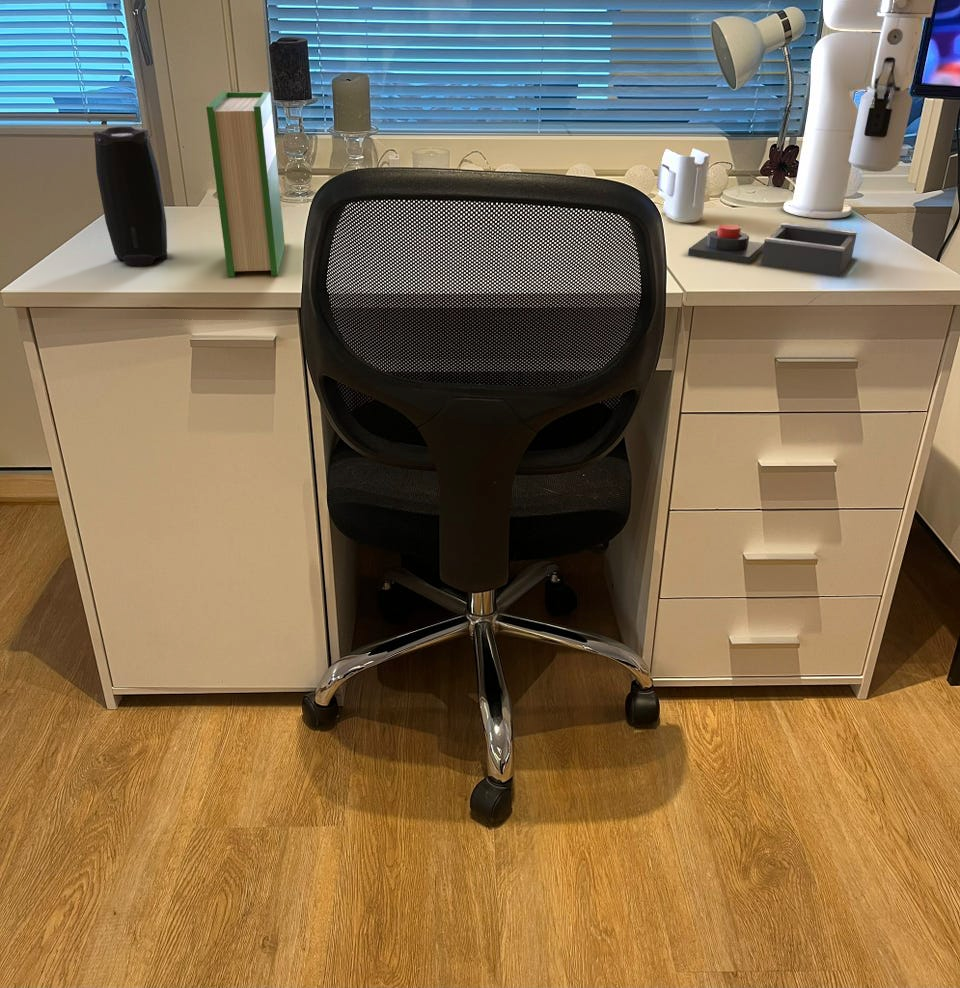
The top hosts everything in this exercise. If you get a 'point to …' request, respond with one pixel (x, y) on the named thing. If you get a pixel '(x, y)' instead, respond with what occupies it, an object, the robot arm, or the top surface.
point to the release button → (729, 231)
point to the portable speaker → (131, 195)
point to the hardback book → (247, 180)
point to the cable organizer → (683, 184)
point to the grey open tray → (809, 249)
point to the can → (880, 150)
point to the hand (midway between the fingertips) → (879, 131)
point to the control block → (726, 248)
